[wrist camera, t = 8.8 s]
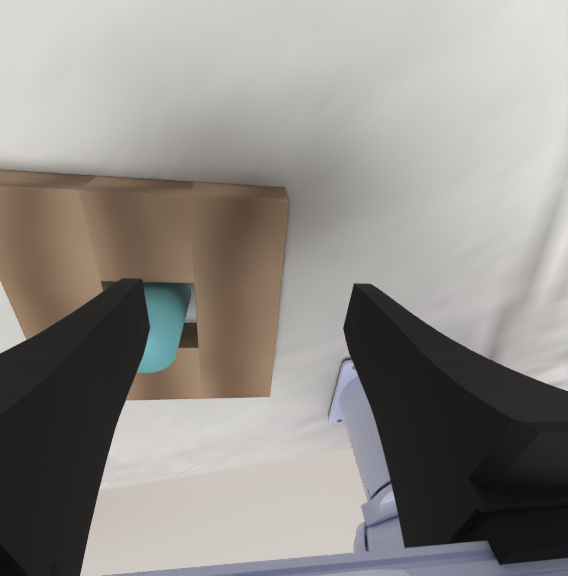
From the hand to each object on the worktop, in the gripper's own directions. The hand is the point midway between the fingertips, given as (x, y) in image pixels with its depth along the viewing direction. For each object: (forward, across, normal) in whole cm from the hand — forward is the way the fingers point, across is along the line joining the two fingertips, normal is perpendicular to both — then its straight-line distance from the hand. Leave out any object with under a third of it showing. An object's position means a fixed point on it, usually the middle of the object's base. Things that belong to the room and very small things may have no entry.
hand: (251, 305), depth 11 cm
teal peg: (+9, +6, +6) cm, 12 cm away
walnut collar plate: (+9, +6, +6) cm, 12 cm away
